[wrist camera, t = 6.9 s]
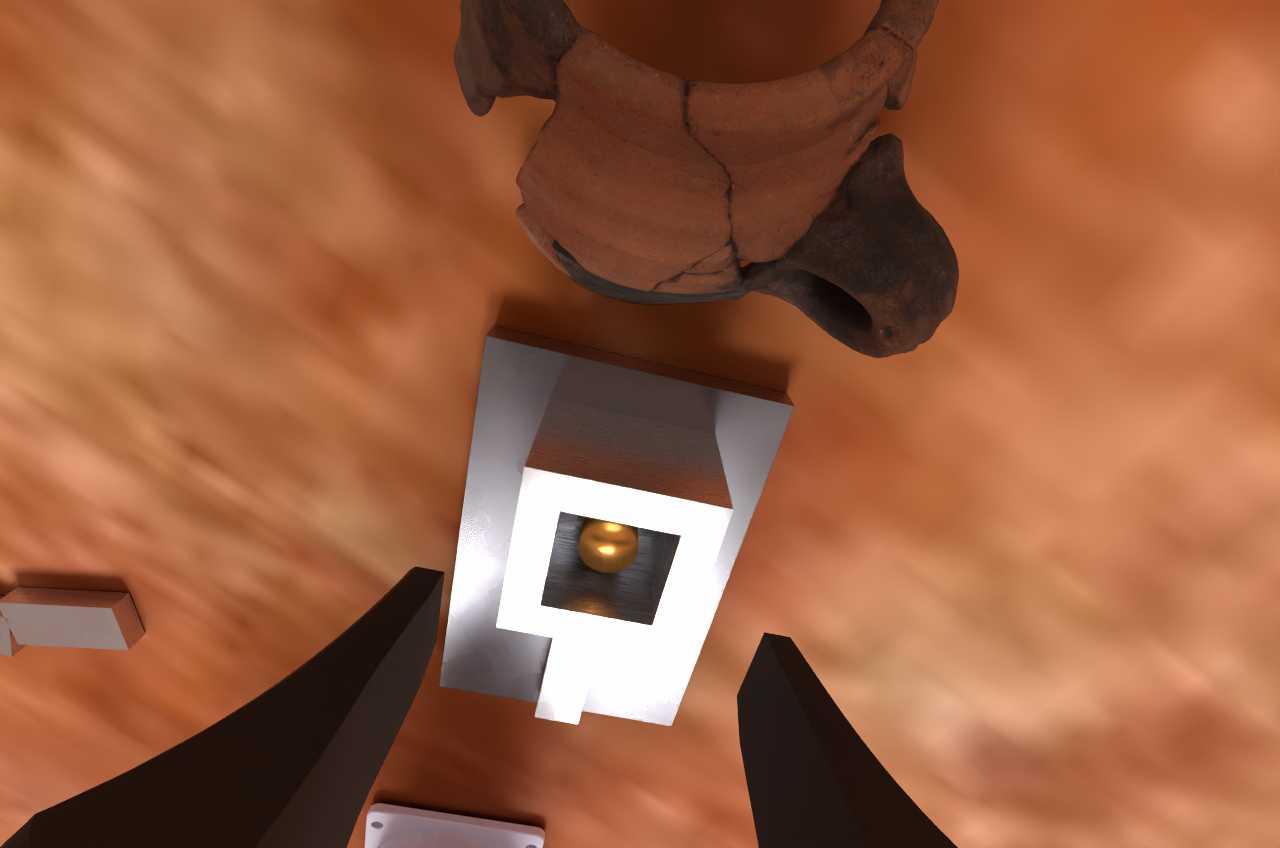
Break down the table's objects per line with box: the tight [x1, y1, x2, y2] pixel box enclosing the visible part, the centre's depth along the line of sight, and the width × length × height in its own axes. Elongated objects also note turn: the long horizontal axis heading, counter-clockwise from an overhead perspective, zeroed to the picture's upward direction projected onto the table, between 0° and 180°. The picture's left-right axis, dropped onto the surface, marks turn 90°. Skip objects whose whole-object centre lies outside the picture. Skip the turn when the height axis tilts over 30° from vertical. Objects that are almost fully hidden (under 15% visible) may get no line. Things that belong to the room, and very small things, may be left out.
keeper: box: [439, 326, 794, 726], centre depth 19 cm, size 14×9×4 cm, turn 167°
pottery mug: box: [454, 0, 959, 358], centre depth 13 cm, size 12×10×8 cm
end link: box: [496, 399, 734, 660], centre depth 17 cm, size 5×5×4 cm
